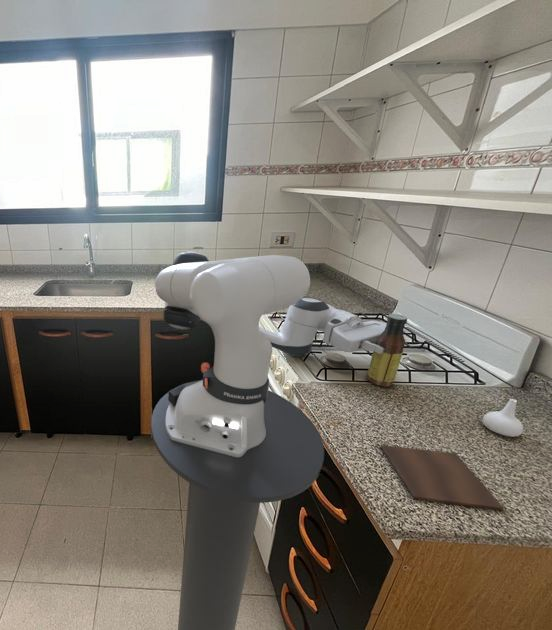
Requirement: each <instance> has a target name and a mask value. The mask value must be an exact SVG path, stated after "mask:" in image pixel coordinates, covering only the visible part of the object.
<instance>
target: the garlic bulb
mask: <svg viewBox="0 0 552 630" xmlns="http://www.w3.org/2000/svg"><path fill="white" fill-rule="evenodd" d="M517 403H518V400H517V399H515V398H509V400H508V402H507V403H506V404H505V406H504V407H503V408H502V409H501V410H500V411H496V410H495V411H490V412H487V413H486V414H484V415H483V417H482V424H483V426H485V428H486V429H488V430H490V431H492V432H494V433H496V434H499V435H501V436H505V437H513V438H515V437H519V436H521V435H522V434H523V433H524V425H523V422H521V420H519V418H517V417H516V408H517Z"/></svg>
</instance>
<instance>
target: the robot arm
mask: <svg viewBox="0 0 552 630" xmlns="http://www.w3.org/2000/svg"><path fill="white" fill-rule="evenodd" d="M310 285H311V274H310V272H309V269H308V267H307V266H306V264H305V263H304V262H303V261H302V260H301V259H300V258H297V257H295V256H290V255H282V254H269V255H258V256H247V257H238V258H236V257H235V258H227V259H220V260H219V259H218V260H209V259H208V257H207V256H206V255H203V254H202V253H199V252H197V251H183V252H180V253H178V254H176V256H175V258H174V260H173V263H172V265H170V266H167V267H166V268H164V269H162V270H161V271H160V272H159V273H158V275H157V276H156V277H155V282H154V289H155V293H156V295H157V296H158V298H159V299H160V300H161V301H163V302H164V308H163V310H162V315H163V317H162V318H163V320H164V322H165V324H168V325H169V326H170V327H172V328H173V329H177V330H181V331H183V330H189V329H194V328H195V327H197V326H198V324H199V322H200V319H201V320H202V321H203V322H204V323H206V324H207V325H208V326H209V327H210V328H211V331H212V333H213V337H214V357H213V366H211V365H210V363H208V362H202V363H201V365H200V371H201V373H202V379H200V380H201V381H199V380H198V381H199V382H197V383H195V384H192V385H190V386H187V387H185V386H181V385H180V386H181V387H178V386H177V387H178V388H176V387H175V389H174V388H172V389H170V390H168V392H169V397H168V401H170V402H171V403H170V405H169V407H168V409H167V412H166V418H165V427H166V432H167V434H168V436H169V437H170V439H171V440H173V441H177V442H180V443H184V444H188V445H192V446H195V447H199V448H203V449H207V450H210V451H214V452H218V453H222V454H226V455H229V456H233V457H241V456H243V455H244V454H245V453H246V451H247V450H249V449H251V448H253V447H256V446H257V445H259V444H260V443H262V441H263V440H264V438H265V436H266V429H265V424H264V403H265V401H266V397H267V395H268V390H269V388H270V379H269V372H270V366H271V360H272V354H273V348H274V349H276V350H278V351H280V352H283V353H284V354H287V355H289V356H291V357H295V358H301V357H304V356H306V355H307V354H310V353H311V351H312V348H313V344H314V340H315V338H316V335H317V332H322V333H323V337H322V342H323V343H325V344H327V345H330V346H332V347H334V348H337V349H338V350H340V351H343V352H345V353H346V352H347V353H353V352H356V351H359V350H365V351H368V352H373V351H374V352H377V353H379V354H381V353H384V352H385V350H386V348H385V347H384V346H382V345H376V341H377V339H378V336H379V335H380V334H381V333H382V332H383V331H384V330H385V328H386V325H387V322H383V321H379V320H368V321H365V322H363V321H362V317H360V316H359V315H357V314H355V313H352V312H349V311H346V310H345V309H344V310H343V309H338V308H336V307H335V306H333V305H331V304H328V303H326V302H325V301H323V300H321V299H318V298H316V297H313V296H306V295H307V293H308V292H309V290H310ZM287 308H288V309H287ZM285 309H287V312H286V315H285V318H284V322H283V324H282V327H281V330H280V331H278V333H275V332H273V331H270V330H268V329H265V328H263V327H260V326H259V323H260V320H261V318H262V317H263V316H264V315H267V314H270V313H274V312H279V311H281V310H285Z"/></svg>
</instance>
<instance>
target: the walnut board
mask: <svg viewBox="0 0 552 630" xmlns="http://www.w3.org/2000/svg"><path fill="white" fill-rule="evenodd" d="M380 449H381V451H382V452H383V453H384V455H385V457H386V458H387V459H388V461H389V463H390V465H391V466H392V468H393V469H394V471H395V472H396V474H397V475H398V476H399V478H400V480H401V482H402V483H403V484H404V486H405V488H406V489H407V491H408V492H409V494H410V496H411V497H412V498H413V500H414V499H415V500H420V501H429V502H436V503H444V504H451V505H459V506H465V507H473V508H481V509H482V508H483V509H489V510H497V511H503V510H504V508H505V507H504V506H503V505H502V504H501V503H500V502H499V501H498V500H497V498H496V497H495V496H494V495H493V494H492V493H491V492H490V491H489V489H488V488H486V486H485V485H484V484H483V483H482V482H481V481H480V479H479V478H478V477H477V476H476V475H475V473H474V472H472V470H471V469H470V468H469V467H468V466H467V465H466V463H464V461H463V460H462V459H461V458H460V457H459V455H457V453H455V452H453V453H451V452H443V451H434V450H425V449H416V448H407V447H400V446H389V445H381V446H380Z"/></svg>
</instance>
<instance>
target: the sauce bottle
mask: <svg viewBox="0 0 552 630" xmlns="http://www.w3.org/2000/svg"><path fill="white" fill-rule="evenodd" d="M386 319H387V320H386V321H387V322H386V324H387V325H386V328H385V330H384V331H383V332H382V333H381V334H380V335H379V336H378V339H377V341H376V345H382V346H384V347H385V348H386V350H385V352H384V353H381V354H379V353H377V352H374V351H372V355H371V359H370V362H369V367H368V370H367V376H366V377H367V380H368V381H369V382H370V383H372V384H373V385H377V386H380V387H386V388H387V387H391V386H393V385H394V381H395V379H396V377H397V373H398V370H399V367H400V364H401V360H402V357H403V353H404V348H405V345H406V339H405V336H404V329H405V325H406V324H407V323H408V317H407V316H406V315H403V314H399V313H389V314H388V316H387V318H386Z"/></svg>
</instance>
